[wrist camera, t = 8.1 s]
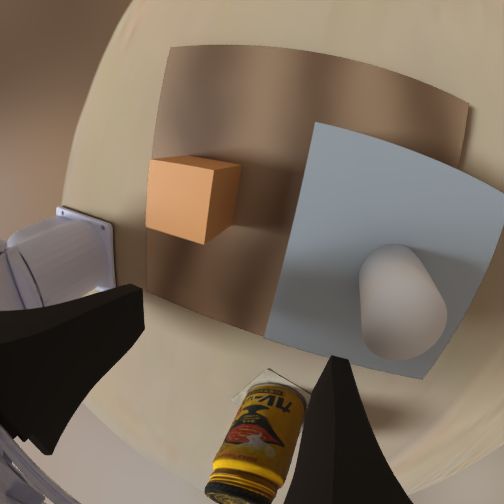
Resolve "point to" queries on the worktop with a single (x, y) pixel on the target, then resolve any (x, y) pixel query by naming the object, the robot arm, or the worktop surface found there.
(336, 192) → the cover
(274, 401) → the condiment
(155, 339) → the worktop surface
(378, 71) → the board
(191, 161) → the block
